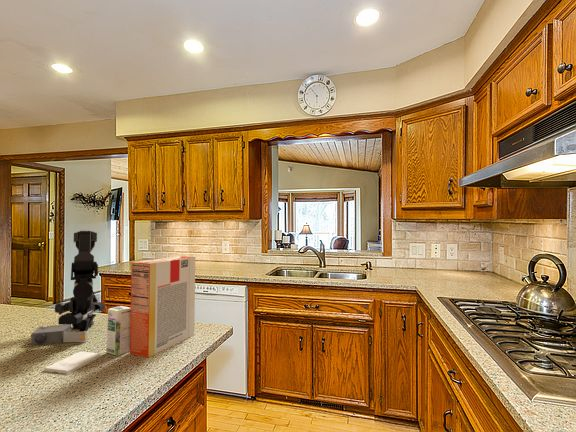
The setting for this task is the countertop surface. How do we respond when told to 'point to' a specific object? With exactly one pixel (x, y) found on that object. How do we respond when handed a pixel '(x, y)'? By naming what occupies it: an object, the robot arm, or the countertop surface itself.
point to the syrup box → (118, 330)
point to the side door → (74, 336)
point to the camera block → (48, 334)
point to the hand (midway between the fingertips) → (82, 336)
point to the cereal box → (161, 303)
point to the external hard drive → (72, 362)
